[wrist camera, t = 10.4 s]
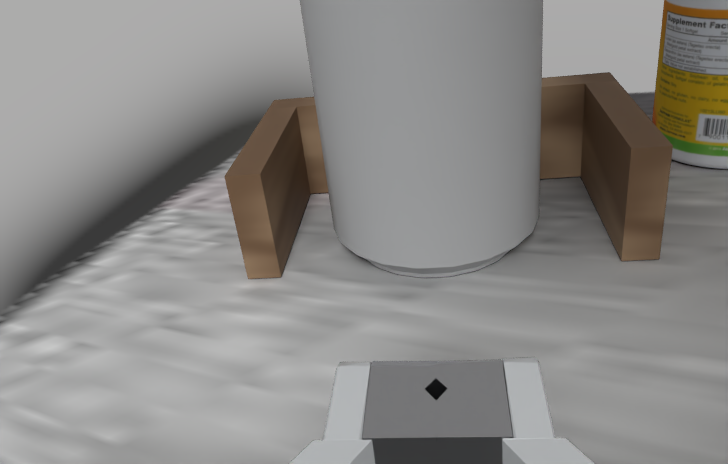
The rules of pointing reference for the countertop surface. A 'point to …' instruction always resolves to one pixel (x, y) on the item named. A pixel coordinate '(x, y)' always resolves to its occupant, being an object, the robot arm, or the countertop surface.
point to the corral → (557, 160)
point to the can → (429, 127)
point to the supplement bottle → (694, 81)
